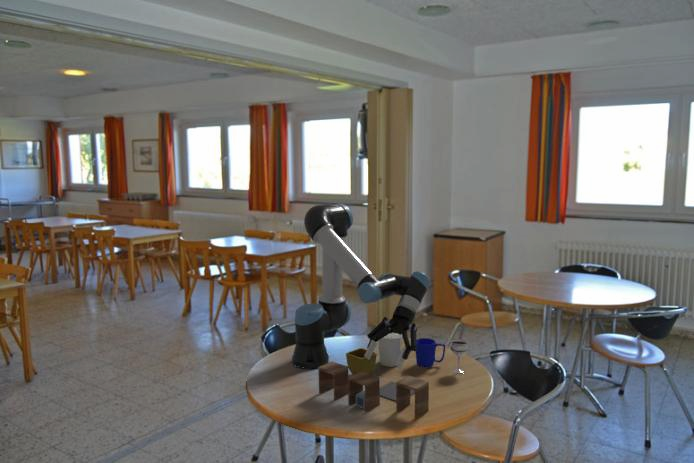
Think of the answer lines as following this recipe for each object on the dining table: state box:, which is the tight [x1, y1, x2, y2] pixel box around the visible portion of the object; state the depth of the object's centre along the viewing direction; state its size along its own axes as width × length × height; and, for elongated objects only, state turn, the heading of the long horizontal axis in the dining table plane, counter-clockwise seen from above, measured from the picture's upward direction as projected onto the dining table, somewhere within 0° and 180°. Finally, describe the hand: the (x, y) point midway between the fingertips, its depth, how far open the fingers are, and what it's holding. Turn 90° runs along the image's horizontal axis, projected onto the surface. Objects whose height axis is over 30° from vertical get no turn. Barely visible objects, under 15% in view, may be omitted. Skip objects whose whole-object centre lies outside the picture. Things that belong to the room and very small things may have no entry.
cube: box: [355, 390, 365, 410], centre depth 182 cm, size 4×4×4 cm
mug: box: [415, 337, 446, 368], centre depth 216 cm, size 8×12×10 cm
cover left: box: [317, 361, 350, 401], centre depth 191 cm, size 8×7×10 cm
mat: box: [380, 380, 415, 402], centre depth 192 cm, size 12×12×1 cm
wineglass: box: [449, 338, 469, 374], centre depth 209 cm, size 7×7×12 cm
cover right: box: [395, 375, 430, 419], centre depth 177 cm, size 8×7×10 cm
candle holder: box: [377, 333, 403, 368], centre depth 219 cm, size 10×10×12 cm
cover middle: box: [347, 371, 381, 413], centre depth 182 cm, size 8×7×10 cm
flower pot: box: [345, 347, 378, 376], centre depth 207 cm, size 9×9×9 cm
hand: (382, 362), depth 187 cm, fingers open, 13 cm apart
